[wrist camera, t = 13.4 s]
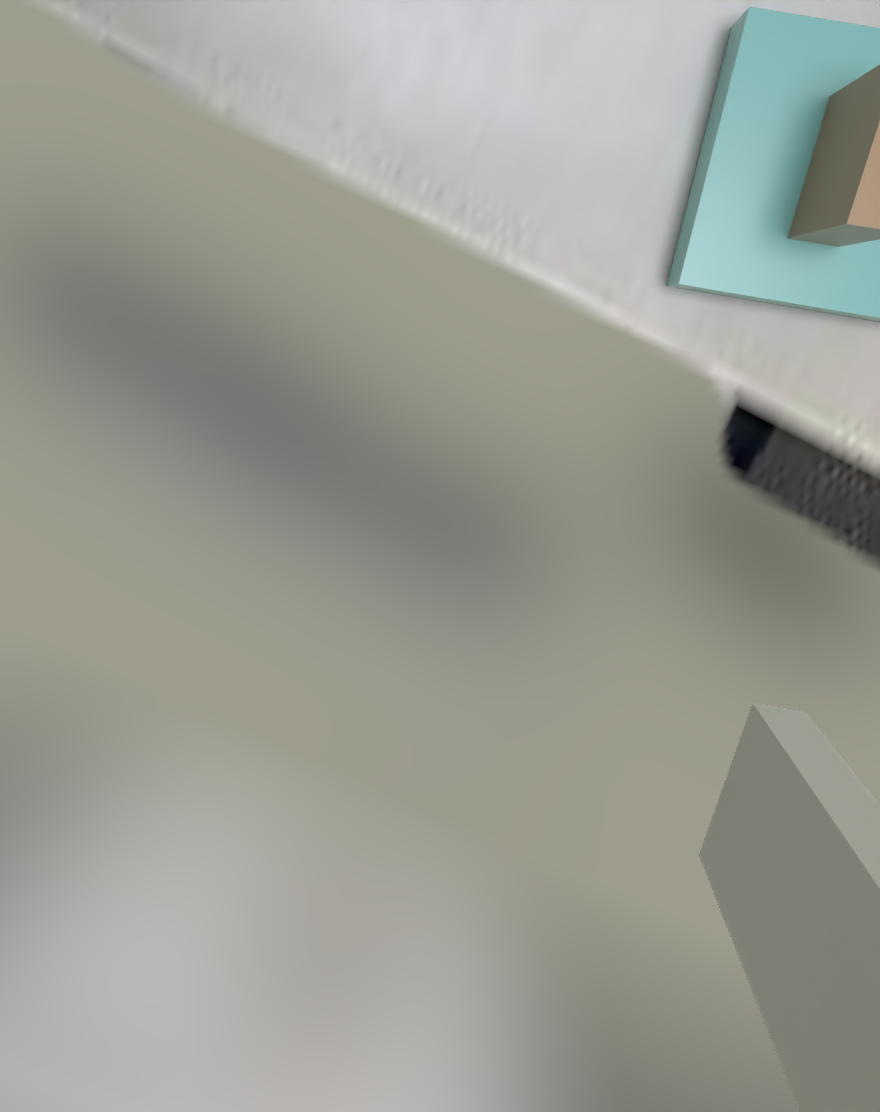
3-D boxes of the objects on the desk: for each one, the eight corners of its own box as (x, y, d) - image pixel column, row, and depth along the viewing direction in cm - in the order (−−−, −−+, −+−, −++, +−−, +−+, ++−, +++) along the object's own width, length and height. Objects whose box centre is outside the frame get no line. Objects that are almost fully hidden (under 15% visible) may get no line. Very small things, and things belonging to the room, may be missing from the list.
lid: (731, 28, 34) (807, -61, 26) (973, 68, 34) (1125, -9, 26) (666, 285, 38) (715, 278, 29) (883, 322, 37) (991, 325, 29)
